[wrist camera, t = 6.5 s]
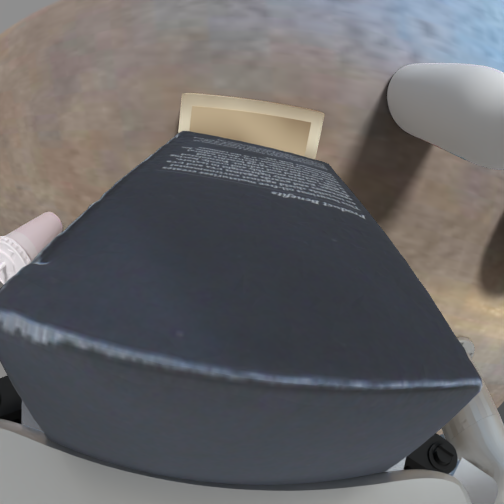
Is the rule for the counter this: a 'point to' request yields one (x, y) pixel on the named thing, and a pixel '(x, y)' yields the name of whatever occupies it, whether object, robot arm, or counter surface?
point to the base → (253, 122)
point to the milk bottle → (452, 109)
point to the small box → (231, 325)
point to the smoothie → (26, 243)
